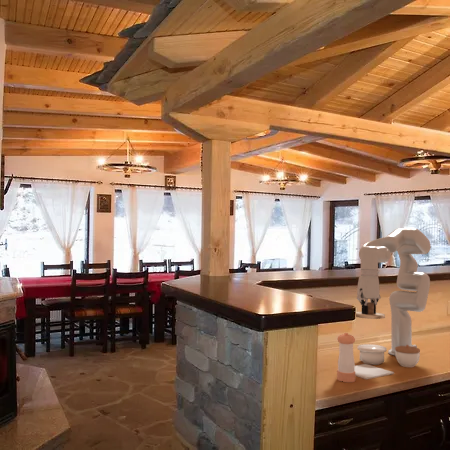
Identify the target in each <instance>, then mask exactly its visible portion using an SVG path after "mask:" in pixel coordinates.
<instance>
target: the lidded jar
mask: <svg viewBox="0 0 450 450" xmlns="http://www.w3.org/2000/svg"><path fill="white" fill-rule="evenodd" d="M420 354H421V349H420V348H418V347H417V348H416V347H410V346H409V345H406V346H398V347H395V355H396V356H395V355H394V356H395V359H396V361H397V363H398V364H399V365H400V366H401V367H405V368H414V367H416V365H417V364H418V363H419V360H420V356H421V355H420Z"/></svg>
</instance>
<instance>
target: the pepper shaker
mask: <svg viewBox="0 0 450 450" xmlns="http://www.w3.org/2000/svg"><path fill="white" fill-rule="evenodd" d="M337 342H338V343H339V345H338V347H339V348H338V350H339V351H338V353H339V354H338V360H337V371H336V372H337V373H336V380H337V381H339V382H342V381H343V383H354V382H355V381H356V376H355V371H354V367H355V366H356V365H355V357H354V343H355V342H356V338H355V337H354V335H352V334H349V333H348V332H344V333H342V334H339V335H338V336H337Z"/></svg>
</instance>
